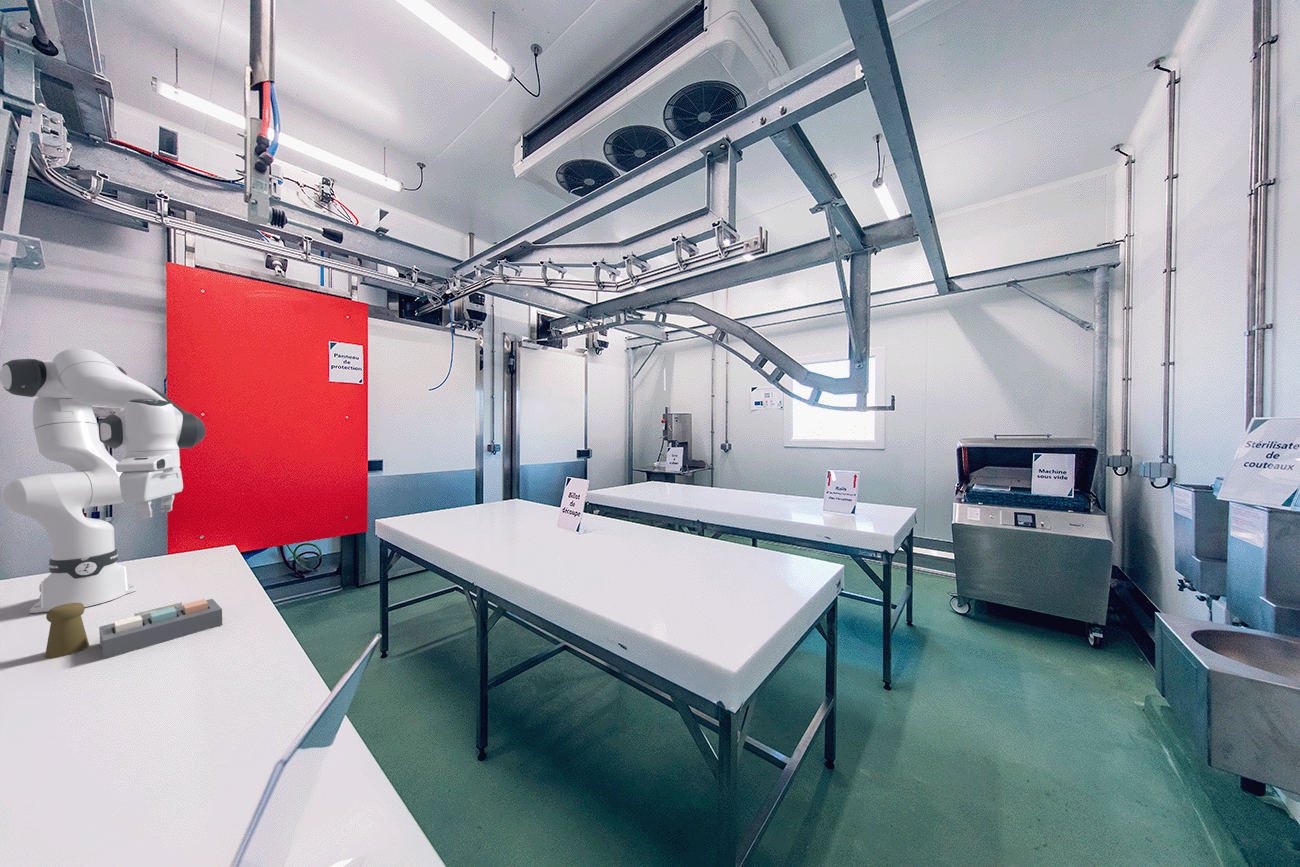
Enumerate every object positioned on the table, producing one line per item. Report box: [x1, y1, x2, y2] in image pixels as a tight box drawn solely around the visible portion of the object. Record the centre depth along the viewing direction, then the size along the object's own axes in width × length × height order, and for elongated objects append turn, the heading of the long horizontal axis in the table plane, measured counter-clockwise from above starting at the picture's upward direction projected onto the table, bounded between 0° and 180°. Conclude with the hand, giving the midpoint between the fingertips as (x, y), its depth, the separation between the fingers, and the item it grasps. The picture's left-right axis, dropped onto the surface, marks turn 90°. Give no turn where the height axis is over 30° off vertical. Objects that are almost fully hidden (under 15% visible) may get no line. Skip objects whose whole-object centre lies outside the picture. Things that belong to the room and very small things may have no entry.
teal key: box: [150, 607, 177, 624], centre depth 104 cm, size 4×4×3 cm
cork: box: [44, 603, 90, 659], centre depth 96 cm, size 6×6×11 cm
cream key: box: [113, 615, 143, 633], centre depth 99 cm, size 4×4×3 cm
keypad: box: [98, 598, 223, 660], centre depth 105 cm, size 13×19×5 cm
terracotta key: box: [182, 598, 208, 615], centre depth 109 cm, size 4×4×3 cm
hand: (156, 515), depth 106 cm, fingers open, 8 cm apart
